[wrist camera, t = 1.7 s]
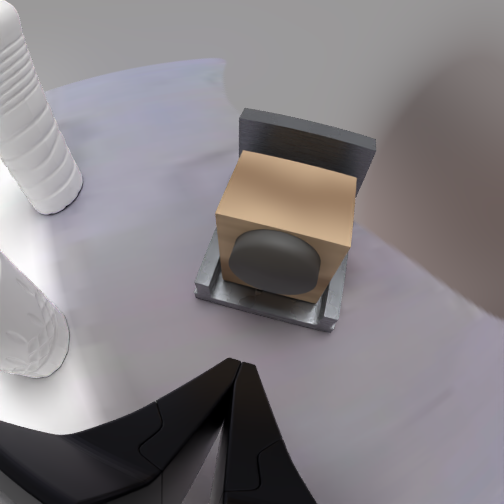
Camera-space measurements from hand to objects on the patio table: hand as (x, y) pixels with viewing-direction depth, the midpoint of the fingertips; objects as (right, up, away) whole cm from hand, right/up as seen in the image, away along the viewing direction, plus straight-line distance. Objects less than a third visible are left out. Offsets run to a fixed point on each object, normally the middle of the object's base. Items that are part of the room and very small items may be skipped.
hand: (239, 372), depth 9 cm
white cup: (-17, -4, +12) cm, 21 cm away
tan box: (+2, +2, +14) cm, 15 cm away
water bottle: (-21, +9, +19) cm, 30 cm away
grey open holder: (+3, +4, +17) cm, 18 cm away
